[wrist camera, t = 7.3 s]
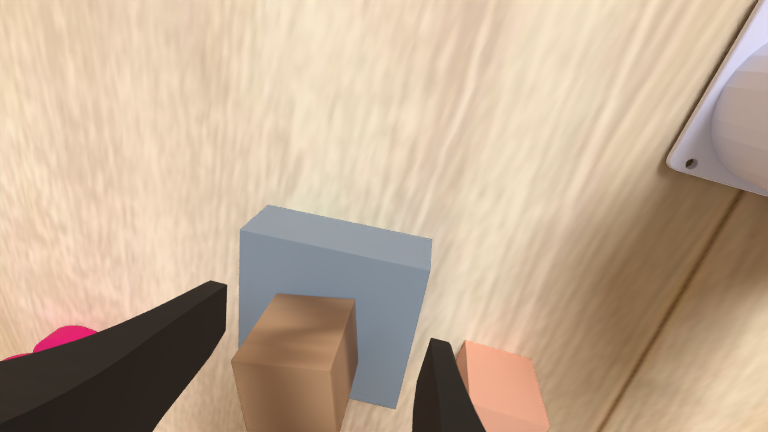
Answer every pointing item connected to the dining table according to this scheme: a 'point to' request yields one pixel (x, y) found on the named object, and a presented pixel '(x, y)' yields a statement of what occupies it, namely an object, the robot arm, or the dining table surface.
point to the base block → (340, 285)
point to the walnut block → (298, 365)
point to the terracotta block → (502, 389)
